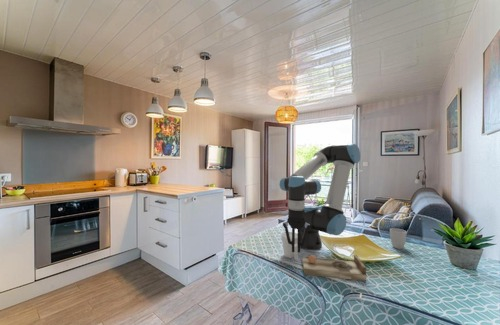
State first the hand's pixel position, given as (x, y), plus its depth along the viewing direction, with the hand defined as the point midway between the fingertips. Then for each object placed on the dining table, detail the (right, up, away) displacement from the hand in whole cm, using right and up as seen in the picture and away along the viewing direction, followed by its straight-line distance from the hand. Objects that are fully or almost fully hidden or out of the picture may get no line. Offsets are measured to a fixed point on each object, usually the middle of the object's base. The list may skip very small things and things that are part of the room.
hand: (295, 258), depth 97 cm
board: (+16, -4, -3) cm, 16 cm away
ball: (+7, +1, -1) cm, 7 cm away
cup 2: (+66, -5, +25) cm, 71 cm away
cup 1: (-1, -4, +12) cm, 12 cm away
